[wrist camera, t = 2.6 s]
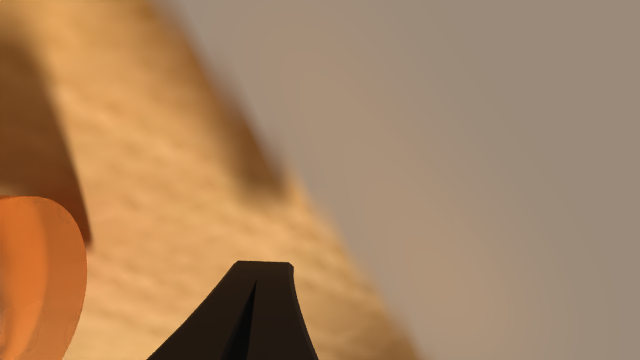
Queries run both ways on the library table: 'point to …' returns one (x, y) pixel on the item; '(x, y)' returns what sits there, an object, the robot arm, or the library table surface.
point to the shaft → (39, 278)
